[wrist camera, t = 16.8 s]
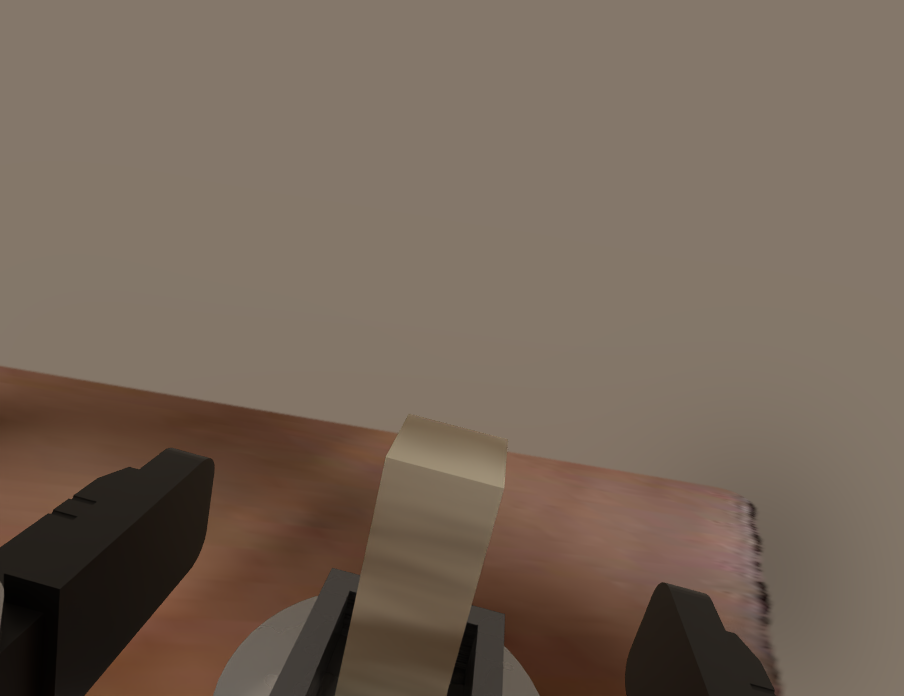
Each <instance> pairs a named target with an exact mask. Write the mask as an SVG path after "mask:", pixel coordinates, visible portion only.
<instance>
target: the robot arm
mask: <svg viewBox="0 0 904 696" xmlns="http://www.w3.org/2000/svg"><path fill="white" fill-rule="evenodd" d="M213 478H214V462H213V460H212V459H211V458H207V457H204V456H200V455H196V454H192V453H189V452H185V451H181V450H178V449H174V448H168V449H166V450H164V451H163V452H161V453H160V454H159V455H158V456H156V457H155V458H154V459H152V460H151V461H150V462H148V463H147V464H146V465H144V466H143V467H142V468H141V469H135V468H132V467H128V468H125V469H122V470H119V471H116V472H114V473H111V474H108V475H105V476H102V477H100V478H97V479H96V480H94V481H93V482H92V483H90V484H89V485H87V486H86V487H85V488H83V489H82V490H80V491H79V492H78V493H76V494H75V495H74V496H73V498H72V499H68V500H66V501H65V502H63V503H62V504H61V505H59V506H58V507H56V508H55V509H54V510H53V512H52V514H47V515H45V516H44V517H42V518H41V519H40V520H38V521H37V522H35V523H34V524H33V525H31V526H30V527H28V528H27V529H25V530H24V531H23V532H21V533H20V534H18V535H17V536H16V537H14V538H13V539H11V540H10V541H9V542H7V543H6V544H4V545H3V546H2V547H0V696H84V695H85V694H86V693H87V692H88V691H89V689H90V688H91V687H92V686H93V685H94V683H95V682H96V681H97V680H98V679H99V677H100V676H101V675H102V674H103V673H104V672H105V670H106V669H107V668H108V667H109V666H110V664H111V663H112V662H113V661H114V660H115V658H116V657H117V656H118V655H119V654H120V653H121V651H122V650H123V649H124V648H125V647H126V645H127V644H128V643H129V642H130V641H131V639H132V638H133V637H134V636H135V635H136V633H137V632H138V631H139V630H140V629H141V628H142V626H143V625H144V624H145V623H146V622H147V620H148V619H149V618H150V617H151V616H152V614H153V613H154V612H155V611H156V610H157V608H158V607H159V606H160V605H161V604H162V603H163V601H164V600H165V599H166V598H167V597H168V595H169V594H170V593H171V592H172V591H173V589H174V588H175V587H176V586H177V585H178V584H179V582H180V581H181V580H182V579H183V578H184V576H185V575H186V574H187V573H188V572H189V570H190V569H191V568H192V566H193V565H194V563H195V561H196V560H197V558H198V556H199V554H200V551H201V549H202V546H203V543H204V540H205V536H206V531H207V523H208V516H209V508H210V501H211V493H212V486H213ZM625 687H626V695H627V696H775V695H774V691H775V690H774V688H773V686H772V684H771V682H770V680H769V678H768V676H767V674H766V672H765V670H764V668H763V666H762V664H761V662H760V661H759V659H758V658H757V657H756V656H755V655H754V654H753V653H752V652H751V650H750V649H749V648H748V647H747V646H746V645H745V644H744V643H743V641H742V640H741V639H740V638H739V637H738V636H737V635H736V634H735V633H731V632H728V631H725V628H724V626H723V624H722V622H721V620H720V618H719V615H718V613H717V611H716V609H715V607H714V604H713V602H712V600H711V598H710V597H709V596H708V595H707V594H705V593H701V592H697V591H694V590H690V589H686V588H682V587H679V586H675V585H671V584H668V583H663V582H662V583H660V584H659V585H658V586H657V587H656V589H655V590H654V593H653V595H652V597H651V600H650V602H649V605H648V607H647V610H646V612H645V615H644V617H643V620H642V622H641V625H640V627H639V629H638V632H637V634H636V637H635V639H634V642H633V644H632V647H631V649H630V652H629V655H628V659H627V664H626V673H625Z"/></svg>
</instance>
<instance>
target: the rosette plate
mask: <svg viewBox="0 0 904 696" xmlns="http://www.w3.org/2000/svg"><path fill="white" fill-rule="evenodd" d="M359 580H360V575H357V574H353V573H350V572H346V571H342V570H338V569H335V568H332V569H331V571H330V573H329V575H328V578H327V580H326V582H325V584H324V586H323V588H322V590H321V592H320V594H319V596H316V597H312V598H310V599H307V600H304V601H301V602H299V603H296V604H294V605H292V606H290V607H288V608H286V609H284V610H282V611H280V612H279V613H277V614H276V615H274V616H273V617H271V618H269V619H268V620H266V621H265V622H264V623H263V624H261V625H260V626H259V627H258V628H257V629H255V630H254V631H253V632H252V633H251V634H250V635H249V636H248V637H247V638H246V639H245V640H244V641H243V642H242V644H241V645H240V646H239V647H238V648H237V650H236V651H235V653H234V654H233V655H232V657H231V658H230V660H229V661H228V663H227V665H226V666H225V668H224V670H223V672H222V674H221V676H220V678H219V680H218V683H217V686H216V689H215V692H214V695H213V696H335V692H336V688H337V683H338V678H339V674H340V669H341V664H342V660H343V655H344V650H345V646H346V641H347V636H348V632H349V627H350V622H351V617H352V613H353V608H354V603H355V599H356V594H357V589H358V585H359ZM504 628H505V614H503V613H499V612H495V611H491V610H488V609H484V608H480V607H477V606H473V605H471V609H470V613H469V616H468V620H467V623H466V627H465V631H464V634H463V638H462V641H461V645H460V649H459V652H458V656H457V659H456V663H455V666H454V670H453V674H452V677H451V681H450V684H449V688H448V692H447V695H446V696H540V695H539V693H538V692H537V690H536V688H535V686H534V684H533V682H532V681H531V679H530V677H529V676H528V674H527V673H526V672H525V670H524V669H523V667H522V666H521V664H520V663H519V662H518V661H517V659H516V658H515V657H514V656H513V655H512V654H511V653H510V651H509V650H508V649H507V648H506V647H505V646H504Z"/></svg>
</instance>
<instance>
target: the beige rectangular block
mask: <svg viewBox="0 0 904 696" xmlns="http://www.w3.org/2000/svg"><path fill="white" fill-rule="evenodd" d="M507 444H508V440H507V439H504V438H500V437H496V436H492V435H488V434H484V433H480V432H477V431H473V430H469V429H465V428H461V427H458V426H454V425H449V424H446V423H442V422H438V421H434V420H431V419H427V418H423V417H419V416H415V415H411V414H409V415H408V416H407V418H406V420H405V422H404V424H403V426H402V428H401V430H400V432H399V433H398V435H397V437H396V439H395V441H394V443H393V445H392V446H391V448H390V450H389V452H388V454H387V456H386V458H385V463H384V468H383V472H382V477H381V482H380V486H379V491H378V496H377V500H376V505H375V510H374V515H373V519H372V524H371V529H370V533H369V538H368V543H367V547H366V552H365V557H364V561H363V566H362V571H361V575H360V580H359V585H358V589H357V594H356V599H355V603H354V608H353V613H352V617H351V622H350V627H349V632H348V636H347V641H346V646H345V650H344V655H343V660H342V664H341V669H340V674H339V678H338V683H337V688H336V692H335V696H446V695H447V692H448V688H449V684H450V681H451V677H452V674H453V670H454V666H455V663H456V659H457V656H458V652H459V649H460V645H461V641H462V638H463V634H464V631H465V627H466V623H467V620H468V616H469V613H470V609H471V605H472V602H473V598H474V595H475V591H476V588H477V584H478V580H479V577H480V573H481V570H482V566H483V562H484V559H485V555H486V552H487V548H488V544H489V541H490V537H491V534H492V530H493V527H494V523H495V519H496V516H497V512H498V509H499V505H500V501H501V498H502V494H503V491H504V483H505V471H506V458H507Z"/></svg>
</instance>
